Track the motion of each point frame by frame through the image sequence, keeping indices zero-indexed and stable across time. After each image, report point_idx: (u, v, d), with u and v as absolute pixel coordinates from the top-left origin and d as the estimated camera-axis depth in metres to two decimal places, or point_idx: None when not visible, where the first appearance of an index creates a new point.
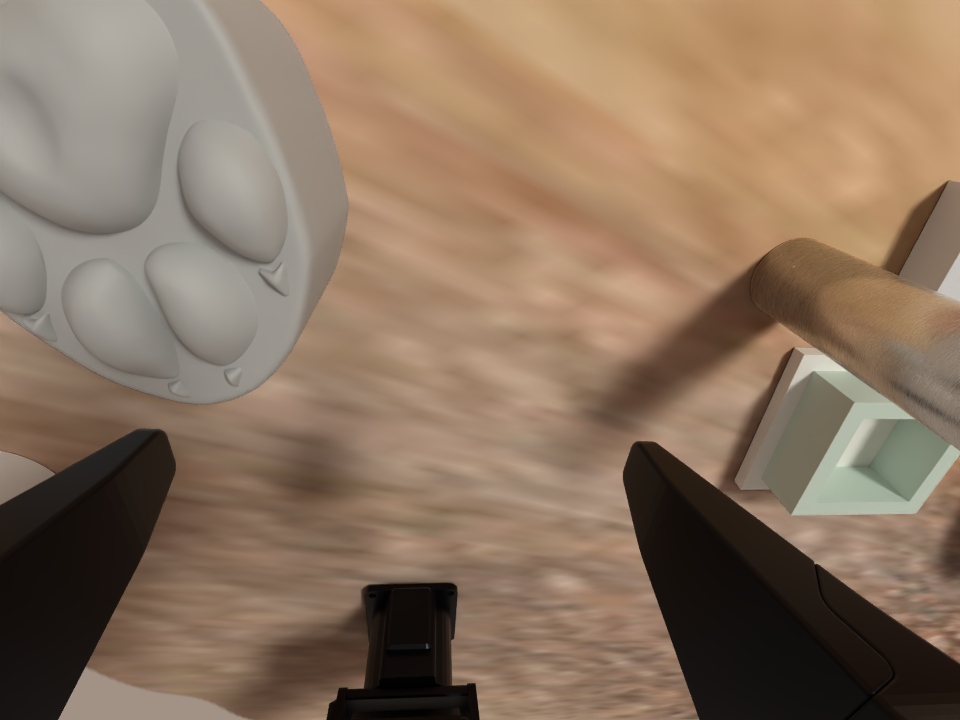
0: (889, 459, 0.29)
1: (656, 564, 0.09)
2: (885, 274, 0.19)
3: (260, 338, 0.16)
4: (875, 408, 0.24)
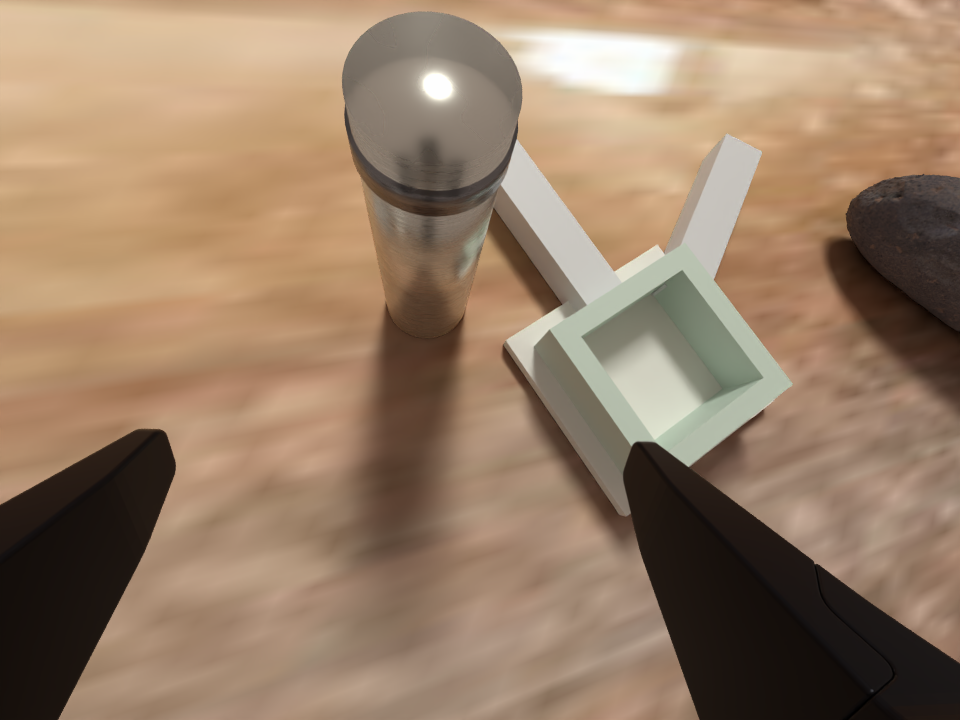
0: (716, 364, 0.24)
1: (656, 564, 0.09)
2: None
3: None
4: (578, 319, 0.21)
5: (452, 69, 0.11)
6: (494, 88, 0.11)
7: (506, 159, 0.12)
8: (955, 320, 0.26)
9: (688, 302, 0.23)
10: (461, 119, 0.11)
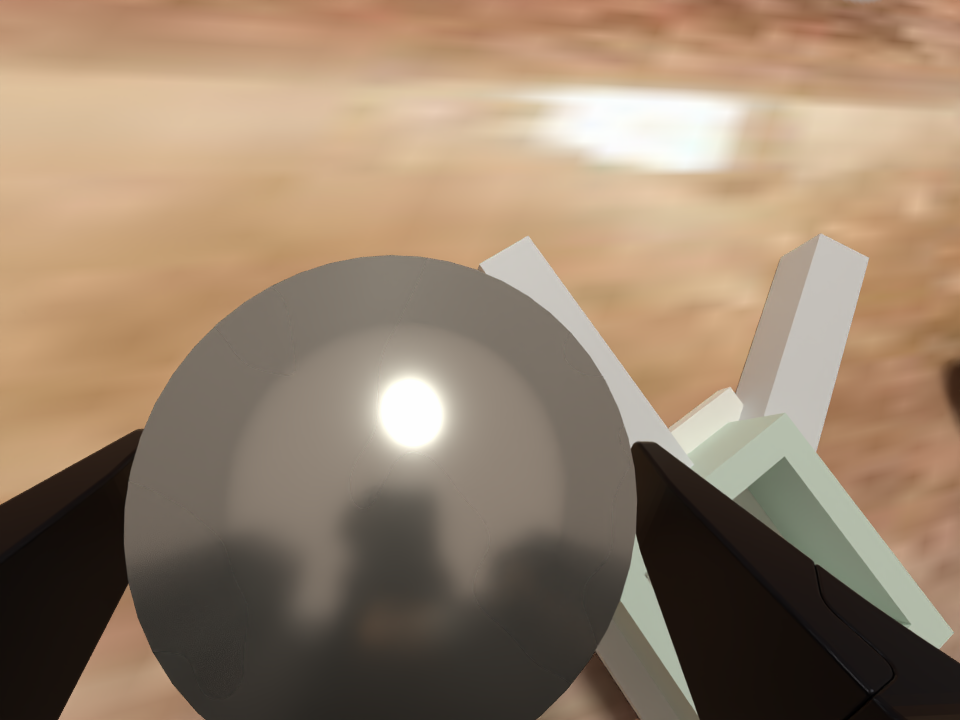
0: None
1: (656, 564, 0.09)
2: None
3: None
4: (638, 547, 0.14)
5: (448, 428, 0.04)
6: (562, 477, 0.04)
7: None
8: None
9: (788, 493, 0.16)
10: (476, 596, 0.04)
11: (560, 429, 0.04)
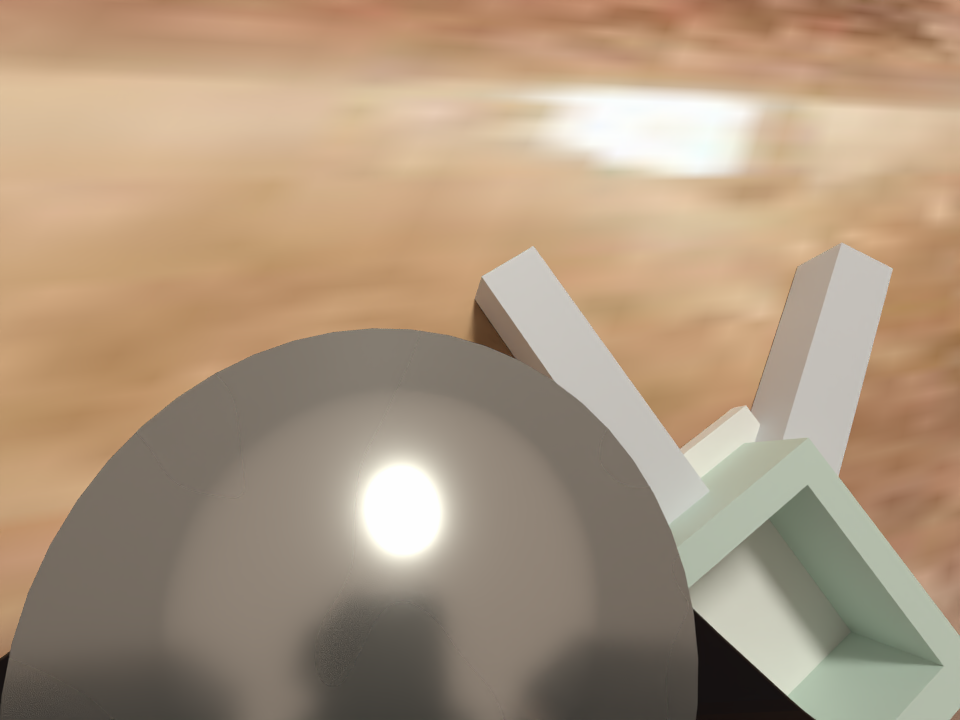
0: (847, 604, 0.16)
1: None
2: None
3: None
4: None
5: (449, 566, 0.03)
6: (600, 630, 0.03)
7: None
8: None
9: (810, 522, 0.15)
10: None
11: (596, 562, 0.03)
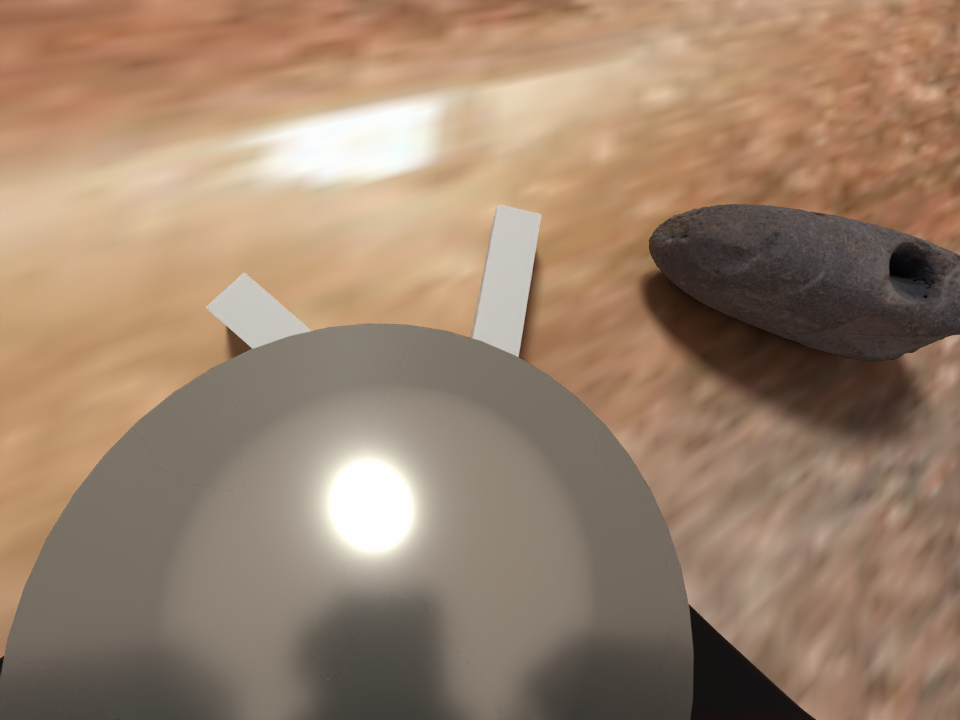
0: None
1: None
2: None
3: None
4: None
5: (444, 560, 0.03)
6: (595, 624, 0.03)
7: None
8: (784, 336, 0.24)
9: None
10: None
11: (592, 557, 0.03)
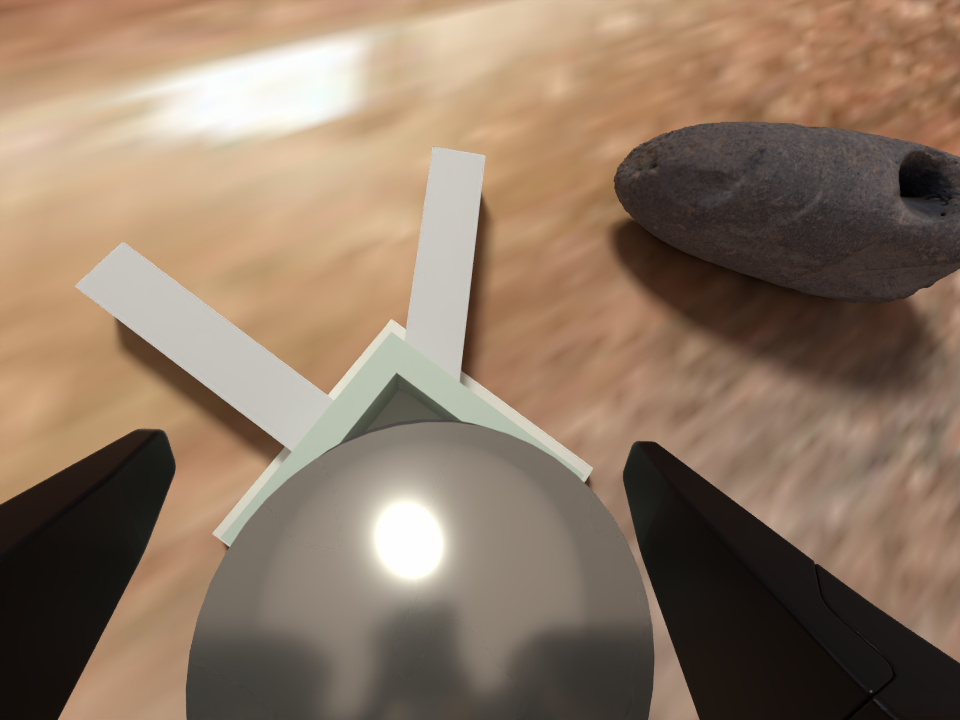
0: None
1: (656, 564, 0.09)
2: None
3: None
4: None
5: (482, 595, 0.04)
6: (587, 638, 0.04)
7: None
8: (778, 281, 0.21)
9: (430, 402, 0.17)
10: None
11: (585, 591, 0.04)
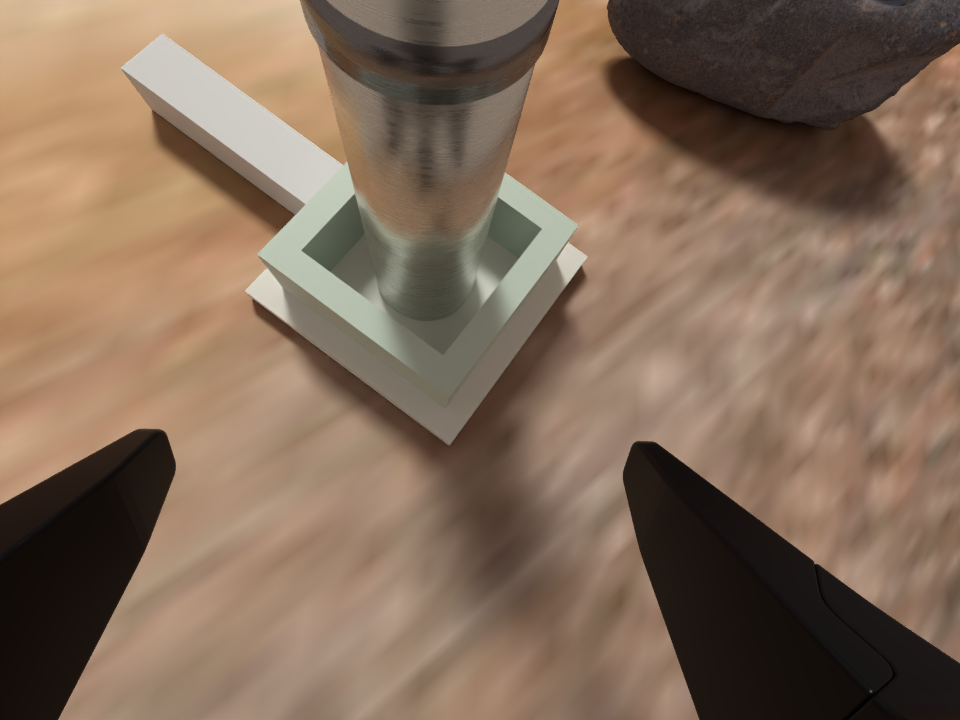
0: (503, 235, 0.20)
1: (656, 564, 0.09)
2: None
3: None
4: (292, 231, 0.16)
5: None
6: None
7: (552, 2, 0.07)
8: (758, 104, 0.23)
9: None
10: None
11: None
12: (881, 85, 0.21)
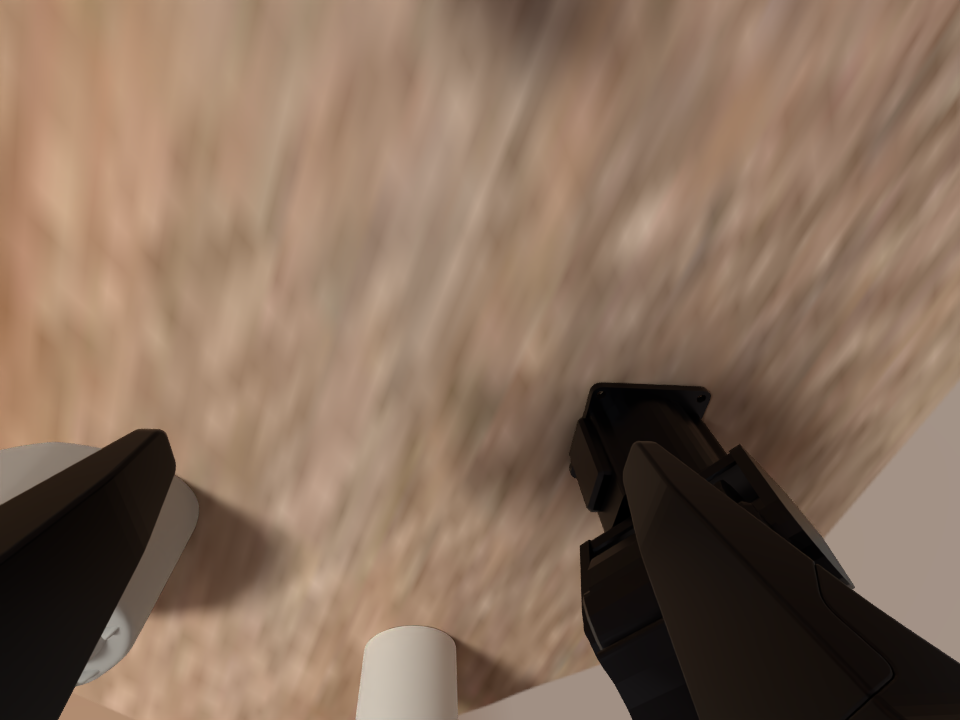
0: None
1: (656, 564, 0.09)
2: None
3: None
4: None
5: None
6: None
7: None
8: None
9: None
10: None
11: None
12: None
